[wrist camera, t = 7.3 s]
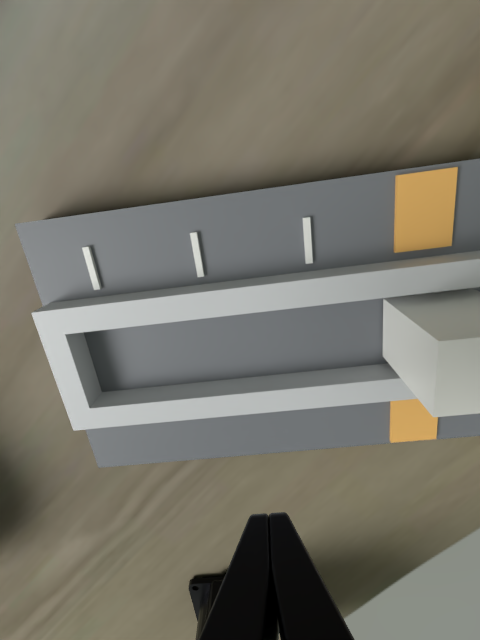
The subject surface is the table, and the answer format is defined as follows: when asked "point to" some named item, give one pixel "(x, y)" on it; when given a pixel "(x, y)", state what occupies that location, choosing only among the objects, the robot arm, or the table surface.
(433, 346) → the fader knob
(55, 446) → the table surface
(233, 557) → the robot arm
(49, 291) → the console
